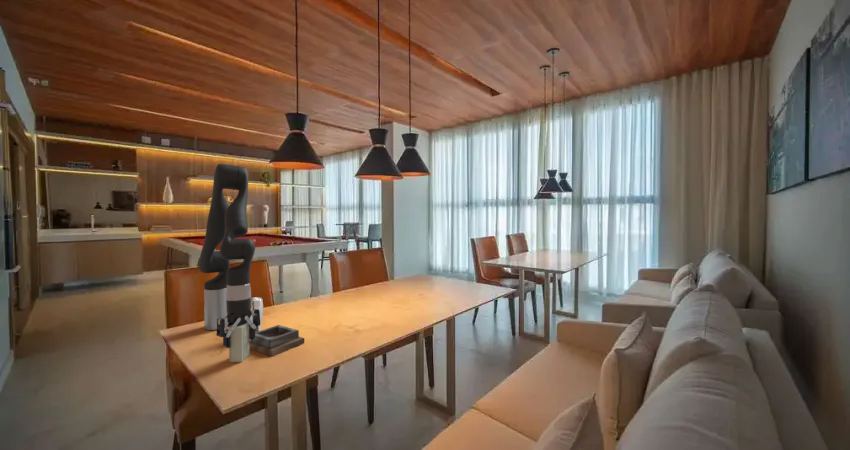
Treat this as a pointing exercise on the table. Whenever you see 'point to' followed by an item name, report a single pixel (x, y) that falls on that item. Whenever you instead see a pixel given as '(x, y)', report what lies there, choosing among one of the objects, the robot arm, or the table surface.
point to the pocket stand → (275, 340)
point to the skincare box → (239, 343)
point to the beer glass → (258, 304)
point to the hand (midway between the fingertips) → (239, 343)
